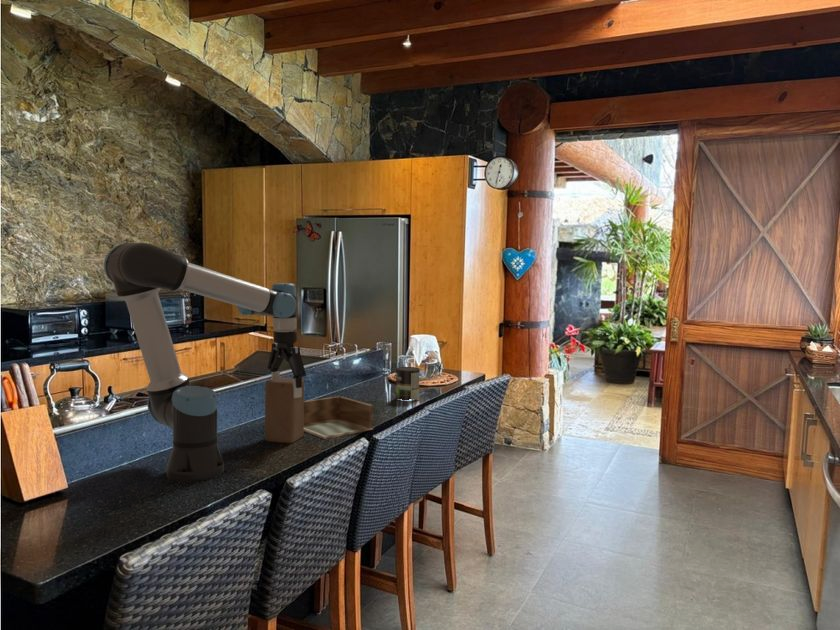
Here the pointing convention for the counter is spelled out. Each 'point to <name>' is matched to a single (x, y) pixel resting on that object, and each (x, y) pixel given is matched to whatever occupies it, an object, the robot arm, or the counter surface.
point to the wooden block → (283, 411)
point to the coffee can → (407, 383)
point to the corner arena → (337, 417)
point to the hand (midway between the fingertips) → (286, 394)
